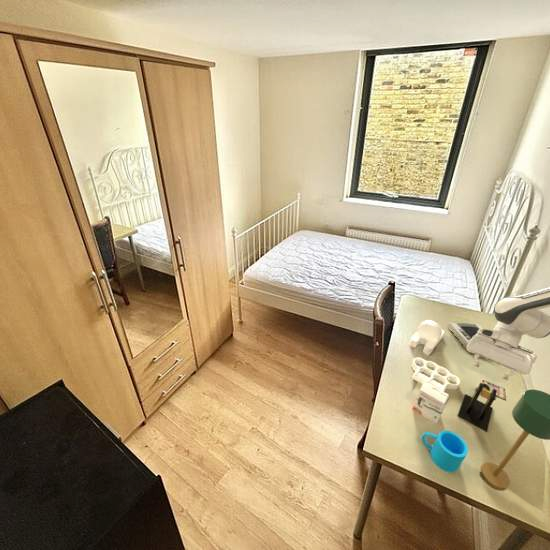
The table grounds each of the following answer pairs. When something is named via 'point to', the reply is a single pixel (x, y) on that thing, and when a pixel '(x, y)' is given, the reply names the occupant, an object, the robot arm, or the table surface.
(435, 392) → the ink box
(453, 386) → the white brass knuckles
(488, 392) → the switch lever
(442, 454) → the mug
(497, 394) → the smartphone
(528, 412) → the desk lamp
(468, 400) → the switch bracket
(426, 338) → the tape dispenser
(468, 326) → the alarm clock
